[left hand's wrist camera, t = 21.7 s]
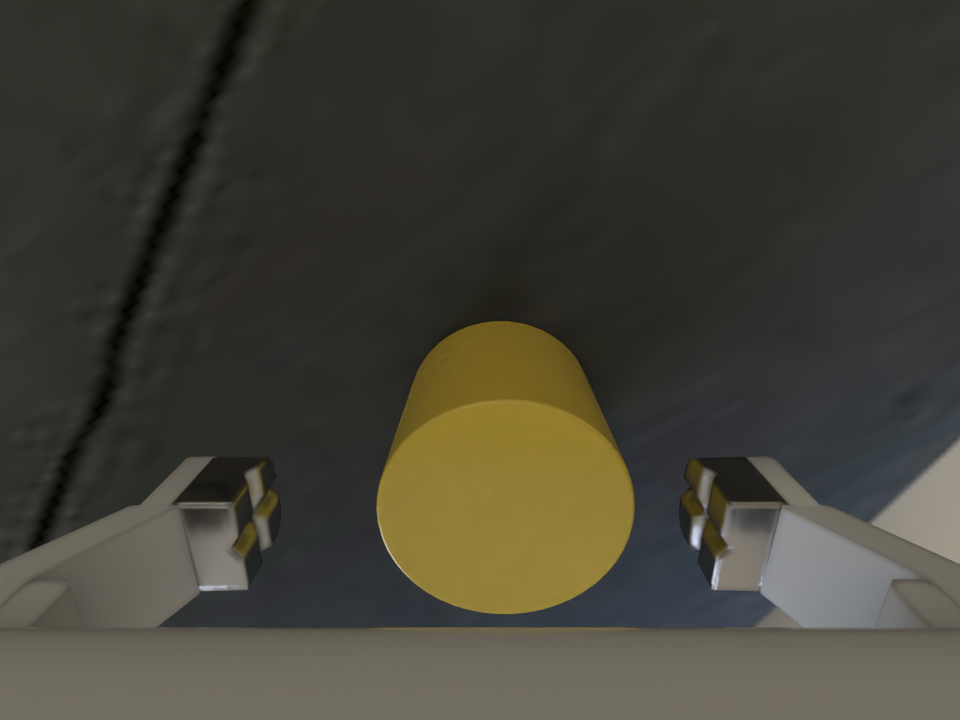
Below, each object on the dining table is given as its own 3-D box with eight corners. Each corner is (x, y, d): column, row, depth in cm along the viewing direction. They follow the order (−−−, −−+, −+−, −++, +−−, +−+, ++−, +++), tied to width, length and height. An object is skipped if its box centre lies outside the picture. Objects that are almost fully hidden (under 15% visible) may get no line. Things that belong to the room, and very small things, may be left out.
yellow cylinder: (622, 426, 14) (681, 546, 10) (477, 508, 16) (472, 649, 11) (526, 283, 13) (546, 347, 9) (374, 384, 14) (322, 488, 10)
